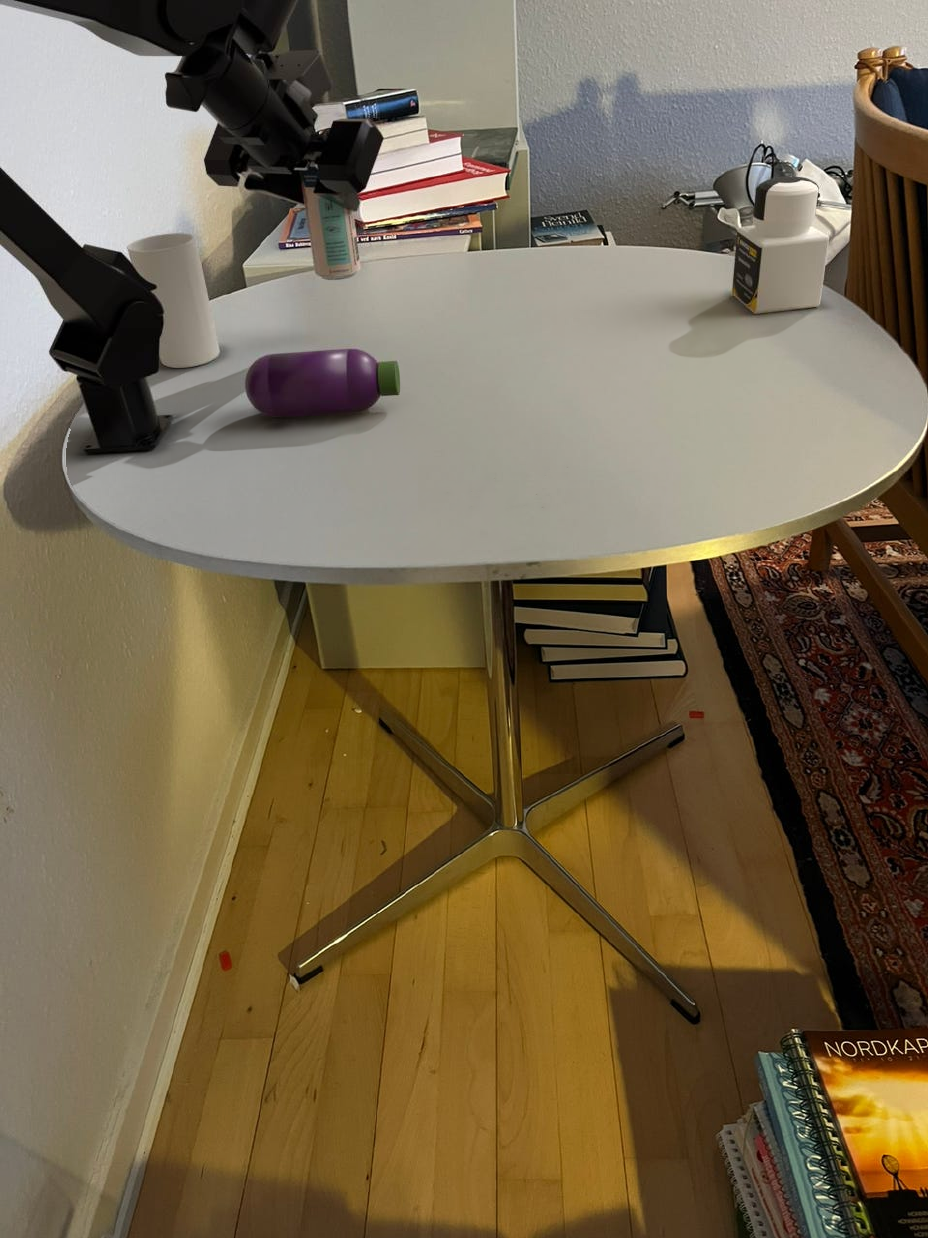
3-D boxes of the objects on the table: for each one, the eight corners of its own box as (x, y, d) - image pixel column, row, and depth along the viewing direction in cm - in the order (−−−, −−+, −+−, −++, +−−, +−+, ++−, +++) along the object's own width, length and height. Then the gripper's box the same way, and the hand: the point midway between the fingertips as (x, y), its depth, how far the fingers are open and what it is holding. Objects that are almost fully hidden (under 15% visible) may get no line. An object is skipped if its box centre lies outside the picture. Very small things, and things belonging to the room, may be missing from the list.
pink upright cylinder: (342, 266, 102) (325, 144, 95) (370, 272, 99) (355, 147, 93) (306, 277, 100) (286, 152, 93) (334, 284, 97) (316, 155, 90)
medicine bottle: (730, 294, 104) (740, 176, 97) (793, 287, 104) (808, 169, 97) (753, 315, 98) (766, 191, 91) (820, 307, 98) (838, 183, 91)
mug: (218, 365, 99) (189, 246, 92) (154, 372, 99) (120, 254, 92) (229, 333, 107) (203, 222, 100) (170, 340, 107) (140, 229, 100)
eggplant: (259, 404, 90) (246, 346, 86) (404, 394, 89) (396, 336, 85) (246, 429, 85) (232, 369, 82) (398, 419, 84) (390, 359, 81)
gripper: (356, 13, 79) (439, 136, 93) (197, 21, 88) (294, 133, 102) (312, 133, 78) (402, 239, 92) (156, 130, 87) (259, 227, 101)
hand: (337, 205), depth 97 cm, fingers closed on pink upright cylinder, 5 cm apart
